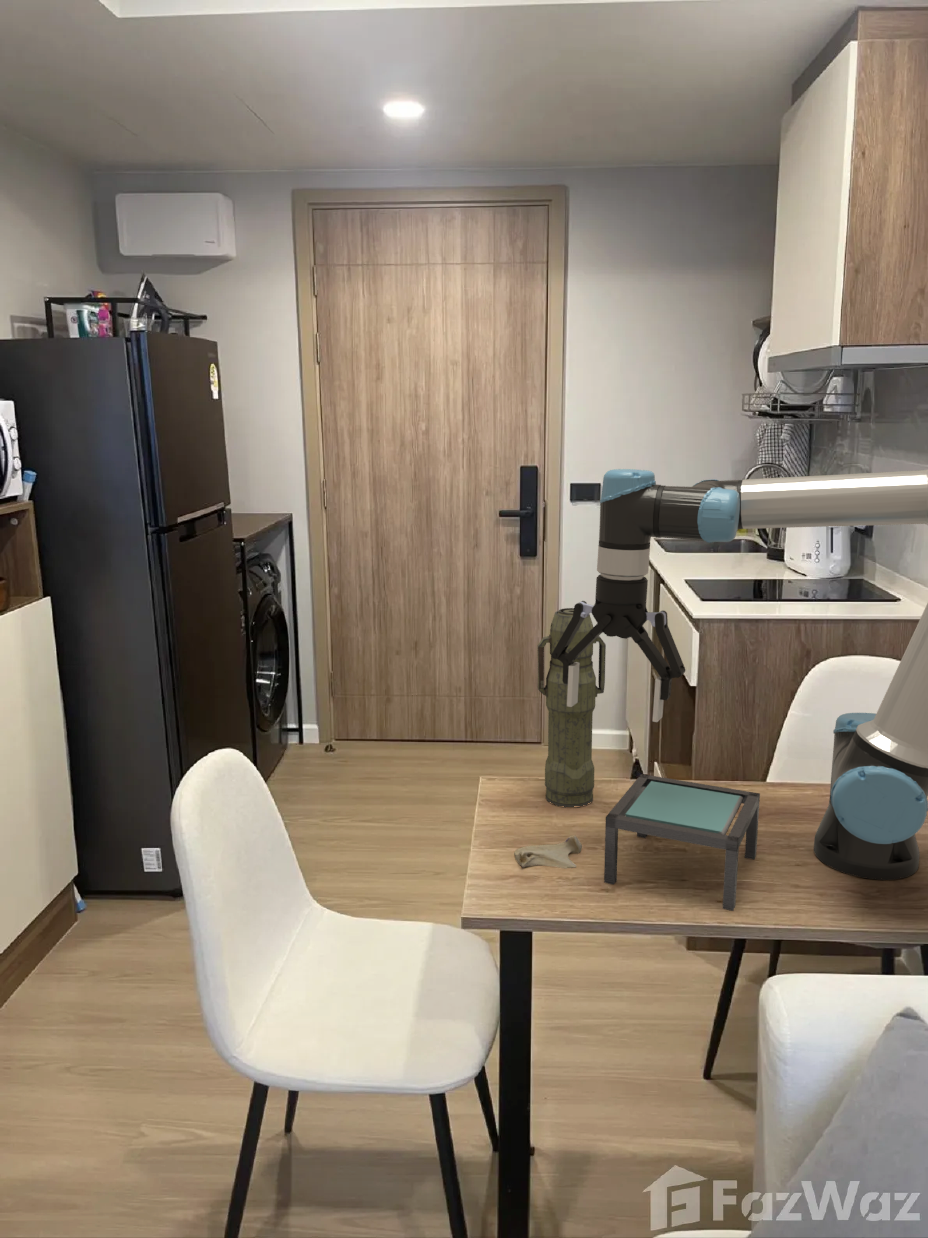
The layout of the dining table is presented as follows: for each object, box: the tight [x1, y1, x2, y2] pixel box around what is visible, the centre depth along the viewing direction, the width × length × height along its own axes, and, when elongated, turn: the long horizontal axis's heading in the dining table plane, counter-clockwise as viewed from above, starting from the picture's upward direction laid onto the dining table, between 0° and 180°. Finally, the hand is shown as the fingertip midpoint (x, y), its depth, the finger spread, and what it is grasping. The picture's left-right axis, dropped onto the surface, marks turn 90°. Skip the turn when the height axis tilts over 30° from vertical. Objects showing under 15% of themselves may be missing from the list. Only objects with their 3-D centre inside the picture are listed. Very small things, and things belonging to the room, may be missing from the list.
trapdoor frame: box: [603, 773, 761, 912], centre depth 140 cm, size 19×19×10 cm
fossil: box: [513, 834, 583, 869], centre depth 145 cm, size 7×11×3 cm, turn 92°
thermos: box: [537, 607, 607, 808], centre depth 164 cm, size 9×12×35 cm
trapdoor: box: [625, 781, 743, 835], centre depth 139 cm, size 14×14×1 cm
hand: (613, 712), depth 141 cm, fingers open, 13 cm apart
